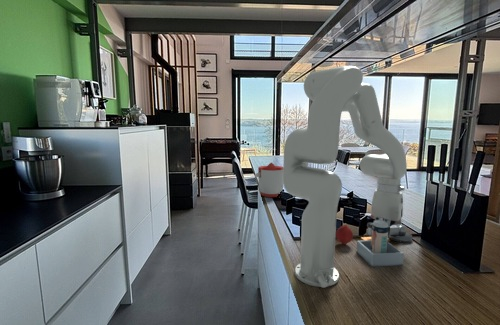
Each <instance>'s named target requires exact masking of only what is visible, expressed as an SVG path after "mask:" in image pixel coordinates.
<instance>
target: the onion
mask: <svg viewBox="0 0 500 325" xmlns="http://www.w3.org/2000/svg"><path fill="white" fill-rule="evenodd" d="M335 238H336V239H337V241H338V242H339V243H340V244H342V245H344V246H345V245H347V244H349V243H351V242H352V240H353V238H354V233H353V231H352V229H351V228H350V227H349V226H348V223H344V224H342V225H341V226H340V227H339V228H337V229H336V234H335Z"/></svg>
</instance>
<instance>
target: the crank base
mask: <svg viewBox="0 0 500 325" xmlns="http://www.w3.org/2000/svg"><path fill="white" fill-rule="evenodd" d="M371 237H372V236H363V237H362V236H361V237H360V240H361V241H363V240H371ZM387 241H388V242H391V241H393V242H396V243H397V242H398V243H404V244H409V243H412V241H413V235H412V233H409V232H407V231H406V235H388V239H387Z"/></svg>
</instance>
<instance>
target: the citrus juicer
mask: <svg viewBox="0 0 500 325" xmlns="http://www.w3.org/2000/svg"><path fill="white" fill-rule="evenodd" d="M254 177H255V178H258V187H259V193H260V194H261V196H263V197H265V198H278V197H277V196H278V194H279V193H280V192H281V191H282V192H283V188H284V183H283V166H280V165H275V164H274V163H273V162H270V163H269V164H268V165H261V166H259V167H258V170H257V173H256V174H255V176H254Z"/></svg>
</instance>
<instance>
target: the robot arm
mask: <svg viewBox="0 0 500 325" xmlns="http://www.w3.org/2000/svg"><path fill="white" fill-rule="evenodd" d="M363 77H364V74H363V72H362V69H360V68H359V67H358V66H354V65H345V66H337V67H333V68H328V69H327V68H326V69H322V70H317V71H313V72H311V73H309V74H308V75H307V76H306V77H305V78H304V82H303V90H304V93H305V95H306V97H307V98H308V99H309V100H310V101H312V102H311V104H310V107H309V109H308V115H307V116H308V119H307V127H306V128H299V129H295V130H293V131H291V132H290V133H289V134H288V136H287V138H285V139H286V140H285V142H284V148H283V149H284V150H283V166H282V167H283V183H284V184H283V188H284V189H285V192H286V193H288V194H289V195H291V196H293V197H297V198H300V199H303V200H306V201H308V204H307V205H306V207H305V209H304V210H303V213H302V215H301V236H300V237H301V240H300V263H298V264H297V265H296V266H295V267H294V268H295V269H294V275H295V277H296V278H297V280H299V281H300V282H302V283H304V284H305V285H308V286H312V287H318V288H320V287H321V288H323V289H324V288H327V287H330V286H333V285H335V284H337V283H338V282H339V279H340V274H339V273H340V272H339V271H338V269H336V267H335V253H336V252H335V251H336V250H335V249H336V232H337V213H338V207H339V201H340V198H341V194H342V189H343V183H342V180H341V178H340V176H339V175H338V174H337V173H335V172H333V171H331V170H328V169H325V168H318V167H313V166H312V167H311V166H308V165H309V164H310V163H311V164H316V165H331V164H333V163H334V162H335V161H336V159H337V157H338V152H339V146H340V145H339V144H340V128H341V117H342V113H343V112H345V113H346V112H347V113H349V117H350V120H351V124H352V127H353V130H354V133H355V134H354V135H355V136H356V137H357V138H359V139H360V140H362V141H365V142H366V143H368V144H370V145H372V146H374V147H376V148H378V149H379V150H381V151H382V152H384V153H381V154H375V153H374V154H371V153H370V154H367V155H365V156H363V157H362V158H361V160H360V161H359V168H360V170H361V172H362V173H363V174H364V175H365V176H371V177H375V178H377V181H376V182H377V183H376V188H375V189H374V192H373V196H372V200H371V206H370V216H369V217H370V218H371V219H373V220H374V221H375V220H383V221H386V222H387V223H388V226H389V227H388V236H389V234H390V226H392V225H397V224H401V225H402V223H403V219H402V218H403V217H404V197H403V196H404V195H403V192H404V191H405V187H406V186H402V184H401V183H402V182H401V180H402V178H404V176H406V173H407V170H408V169H407V168H408V165H407V163H408V162H407V158H406V153H405V149H404V146H403V144H402V143H401V141H400V140H398V138H397V137H396V136H395V135H394V134H393V133H392V132H391V131H390V130H388V129H387V128H386V127H385V126H384V123H383V120H382V116H381V111H380V107H379V106H380V105H379V103H378V98H377V94H376V90H375V88H374V87H373V85H371V84H369V83H366V82H363ZM402 191H403V192H402Z"/></svg>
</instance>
